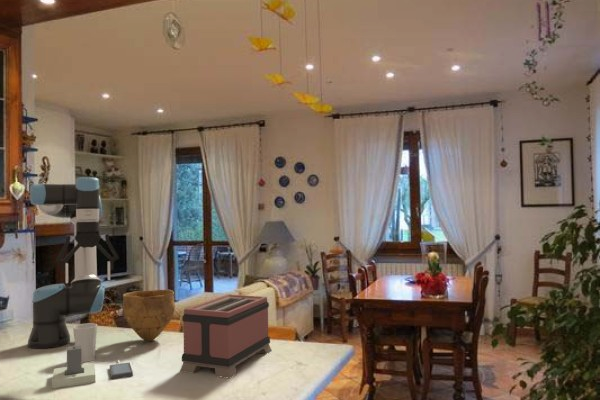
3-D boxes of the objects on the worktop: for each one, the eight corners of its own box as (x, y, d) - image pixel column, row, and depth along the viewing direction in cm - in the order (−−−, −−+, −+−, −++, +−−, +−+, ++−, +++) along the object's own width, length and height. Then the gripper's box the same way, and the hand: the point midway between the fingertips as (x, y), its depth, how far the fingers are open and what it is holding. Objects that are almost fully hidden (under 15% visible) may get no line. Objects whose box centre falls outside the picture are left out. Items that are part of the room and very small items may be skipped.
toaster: (275, 348, 185) (274, 294, 186) (229, 378, 154) (229, 313, 154) (231, 343, 193) (231, 292, 193) (179, 371, 161) (178, 309, 161)
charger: (67, 378, 156) (67, 346, 156) (81, 376, 157) (81, 344, 158) (67, 382, 152) (66, 350, 152) (81, 380, 154) (81, 348, 154)
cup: (88, 363, 170) (88, 329, 170) (68, 362, 172) (68, 328, 172) (102, 356, 178) (101, 323, 178) (82, 355, 179) (82, 322, 180)
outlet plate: (54, 376, 158) (54, 368, 158) (94, 370, 163) (94, 362, 163) (52, 388, 147) (52, 380, 147) (95, 382, 152) (95, 373, 152)
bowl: (112, 343, 195) (111, 293, 195) (153, 332, 212) (152, 286, 212) (145, 351, 183) (144, 298, 183) (185, 339, 200) (185, 290, 200)
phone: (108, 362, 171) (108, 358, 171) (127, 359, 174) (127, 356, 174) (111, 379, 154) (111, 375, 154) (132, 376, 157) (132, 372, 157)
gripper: (47, 222, 163) (47, 285, 162) (126, 220, 173) (126, 279, 173) (48, 221, 169) (49, 282, 169) (124, 220, 180) (124, 277, 180)
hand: (88, 281), depth 171 cm, fingers open, 13 cm apart
